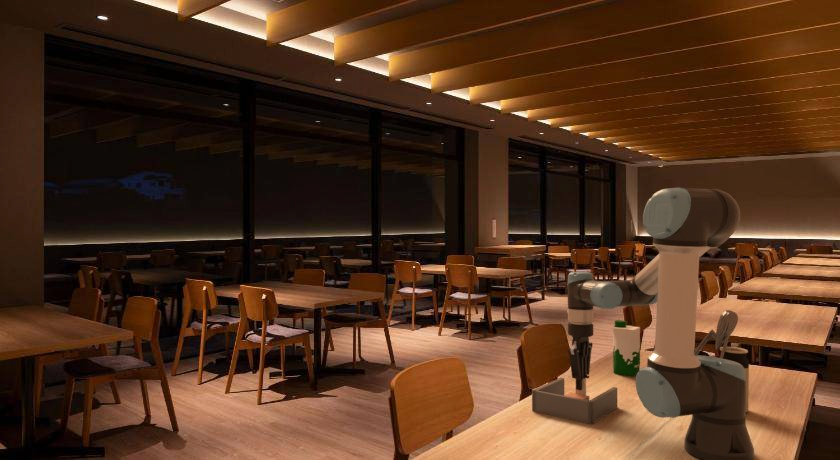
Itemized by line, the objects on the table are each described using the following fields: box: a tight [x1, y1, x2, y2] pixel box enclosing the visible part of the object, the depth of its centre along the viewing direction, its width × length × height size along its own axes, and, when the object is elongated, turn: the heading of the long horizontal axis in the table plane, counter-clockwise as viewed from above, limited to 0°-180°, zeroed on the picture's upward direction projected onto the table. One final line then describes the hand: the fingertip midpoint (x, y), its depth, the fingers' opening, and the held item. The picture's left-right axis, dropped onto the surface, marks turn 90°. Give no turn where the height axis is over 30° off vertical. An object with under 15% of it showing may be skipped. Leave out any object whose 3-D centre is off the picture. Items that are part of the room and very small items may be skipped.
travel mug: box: [718, 346, 750, 413], centre depth 167 cm, size 8×8×18 cm
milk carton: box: [611, 319, 641, 378], centre depth 207 cm, size 9×9×20 cm
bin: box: [531, 377, 618, 425], centre depth 168 cm, size 19×18×6 cm
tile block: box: [564, 392, 590, 401], centre depth 168 cm, size 6×6×4 cm
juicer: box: [694, 309, 739, 359], centre depth 168 cm, size 10×11×30 cm
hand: (580, 399), depth 171 cm, fingers closed
